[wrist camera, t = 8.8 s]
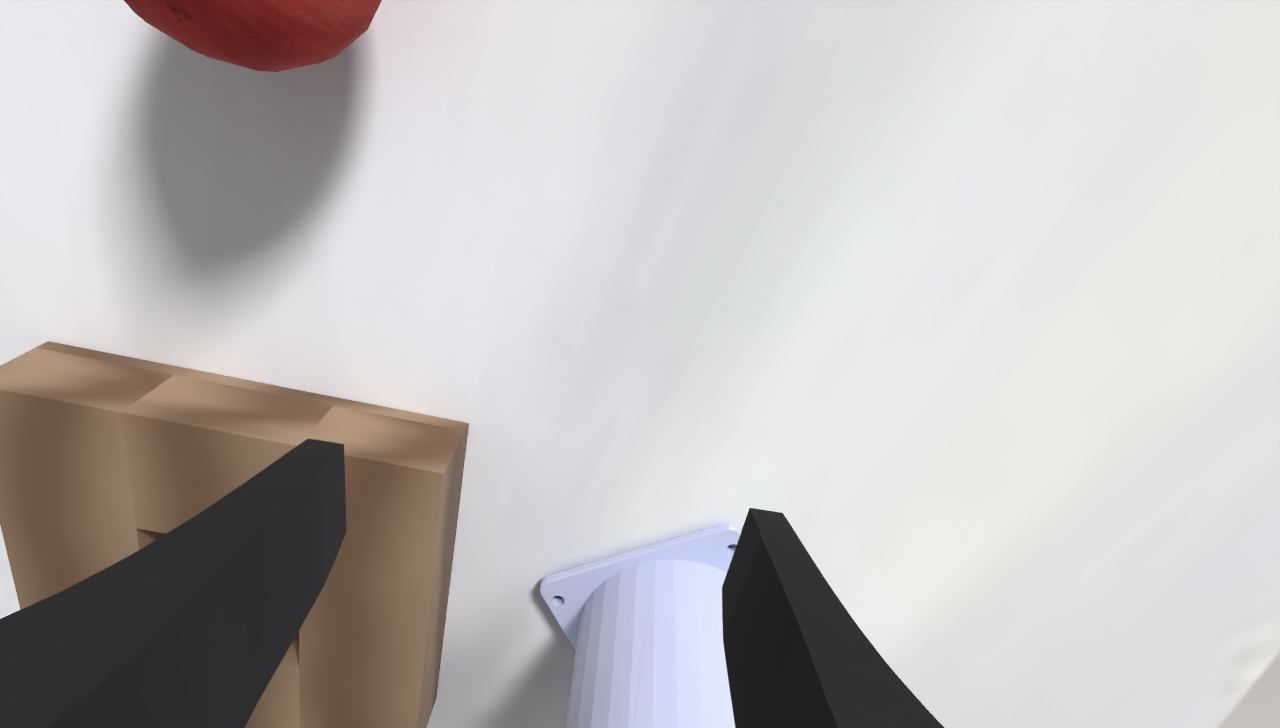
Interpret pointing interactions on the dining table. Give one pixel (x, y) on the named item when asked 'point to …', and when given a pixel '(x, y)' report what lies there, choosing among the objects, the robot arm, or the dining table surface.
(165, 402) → the pocket block
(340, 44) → the red rounded piece
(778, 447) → the dining table surface
